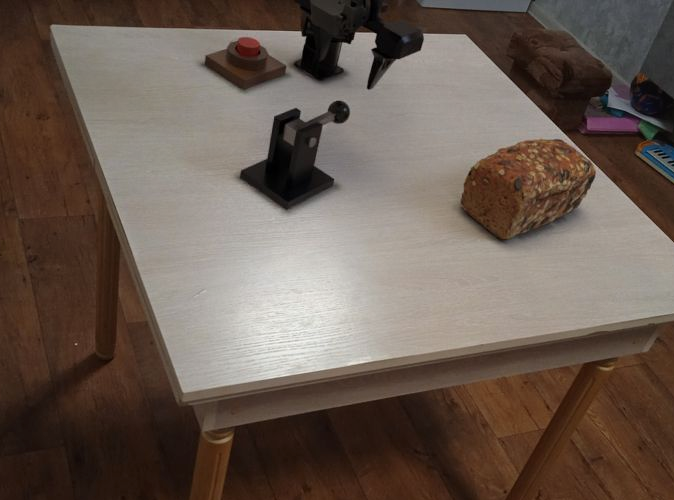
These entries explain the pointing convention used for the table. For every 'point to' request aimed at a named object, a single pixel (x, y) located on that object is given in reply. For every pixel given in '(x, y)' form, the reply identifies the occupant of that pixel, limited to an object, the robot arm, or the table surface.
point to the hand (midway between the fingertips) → (344, 73)
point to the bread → (526, 186)
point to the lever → (318, 120)
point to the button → (248, 46)
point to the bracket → (290, 164)
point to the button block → (245, 66)
